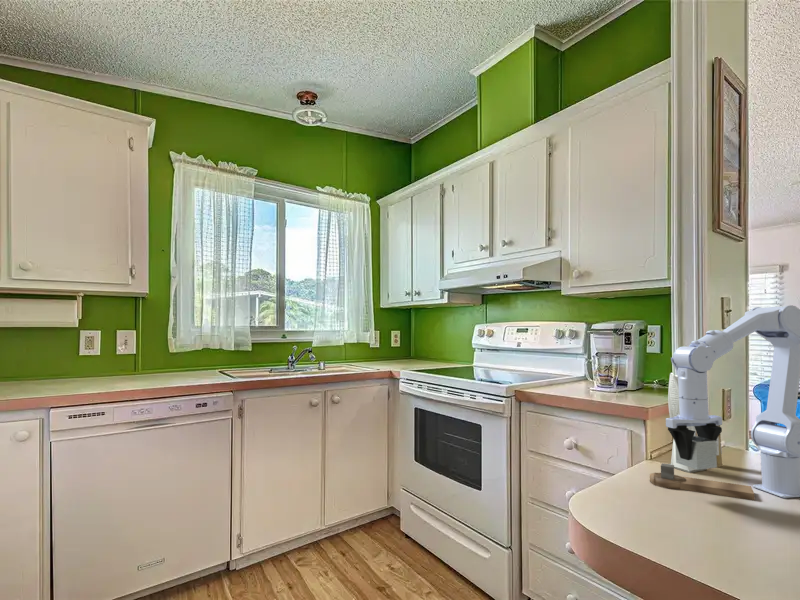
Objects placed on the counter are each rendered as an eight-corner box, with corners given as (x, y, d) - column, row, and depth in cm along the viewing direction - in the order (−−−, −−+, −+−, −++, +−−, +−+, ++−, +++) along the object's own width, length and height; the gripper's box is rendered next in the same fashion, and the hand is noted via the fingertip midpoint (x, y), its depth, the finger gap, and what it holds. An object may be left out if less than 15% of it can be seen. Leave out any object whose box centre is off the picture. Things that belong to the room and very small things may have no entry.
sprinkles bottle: (725, 465, 131) (723, 417, 132) (718, 468, 128) (716, 419, 129) (707, 462, 135) (705, 415, 136) (700, 464, 132) (698, 416, 133)
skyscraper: (711, 471, 126) (707, 367, 128) (691, 474, 123) (687, 368, 125) (682, 463, 134) (678, 365, 135) (662, 466, 130) (659, 366, 132)
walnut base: (750, 491, 110) (749, 472, 111) (755, 502, 103) (754, 481, 104) (650, 476, 121) (650, 459, 121) (648, 485, 114) (648, 466, 115)
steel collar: (694, 460, 110) (693, 435, 110) (716, 467, 104) (715, 440, 105) (676, 462, 108) (675, 436, 109) (697, 469, 103) (696, 442, 103)
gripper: (702, 394, 113) (704, 451, 112) (654, 397, 109) (656, 455, 108) (729, 398, 107) (732, 458, 106) (679, 401, 102) (682, 463, 102)
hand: (695, 457), depth 106 cm, fingers closed on steel collar, 6 cm apart
